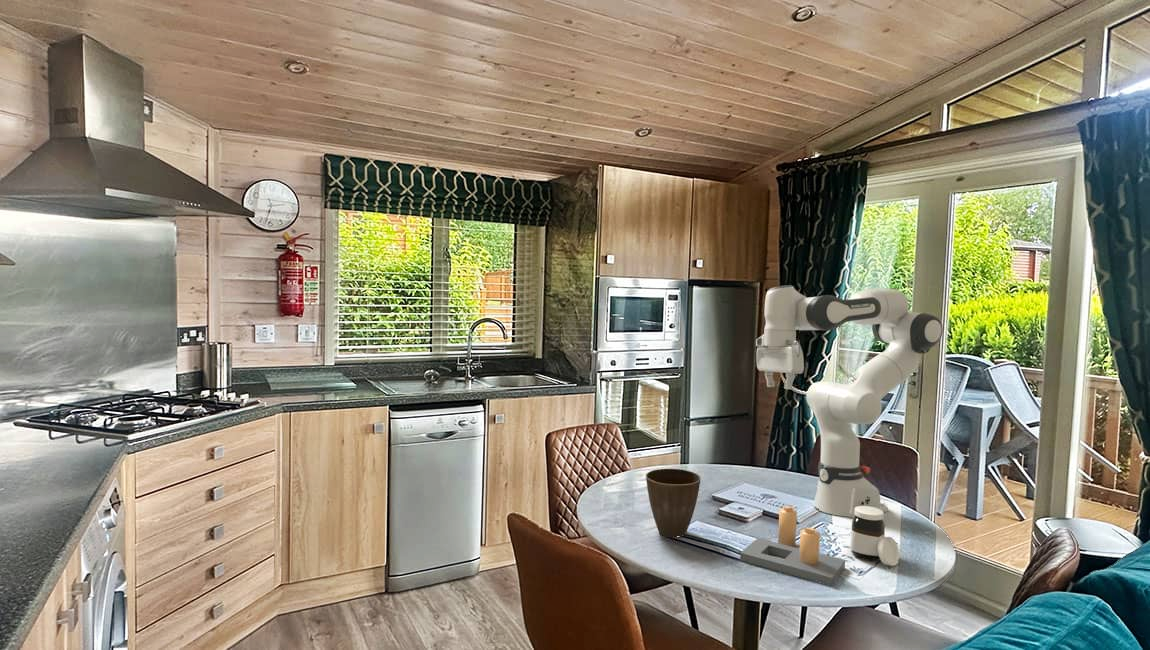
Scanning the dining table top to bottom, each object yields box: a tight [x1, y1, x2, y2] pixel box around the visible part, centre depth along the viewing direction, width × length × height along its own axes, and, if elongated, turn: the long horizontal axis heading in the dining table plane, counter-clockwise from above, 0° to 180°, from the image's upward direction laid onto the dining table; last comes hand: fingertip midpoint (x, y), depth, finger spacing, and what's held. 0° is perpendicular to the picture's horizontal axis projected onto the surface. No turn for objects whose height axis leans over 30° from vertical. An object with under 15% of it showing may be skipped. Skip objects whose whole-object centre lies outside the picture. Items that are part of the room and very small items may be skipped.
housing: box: [739, 526, 846, 586], centre depth 160 cm, size 22×12×10 cm, turn 54°
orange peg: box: [777, 505, 798, 547], centre depth 172 cm, size 4×4×10 cm
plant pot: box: [645, 468, 702, 538], centre depth 178 cm, size 15×15×16 cm
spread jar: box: [850, 506, 900, 567], centre depth 165 cm, size 12×11×12 cm
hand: (779, 388), depth 188 cm, fingers open, 8 cm apart
